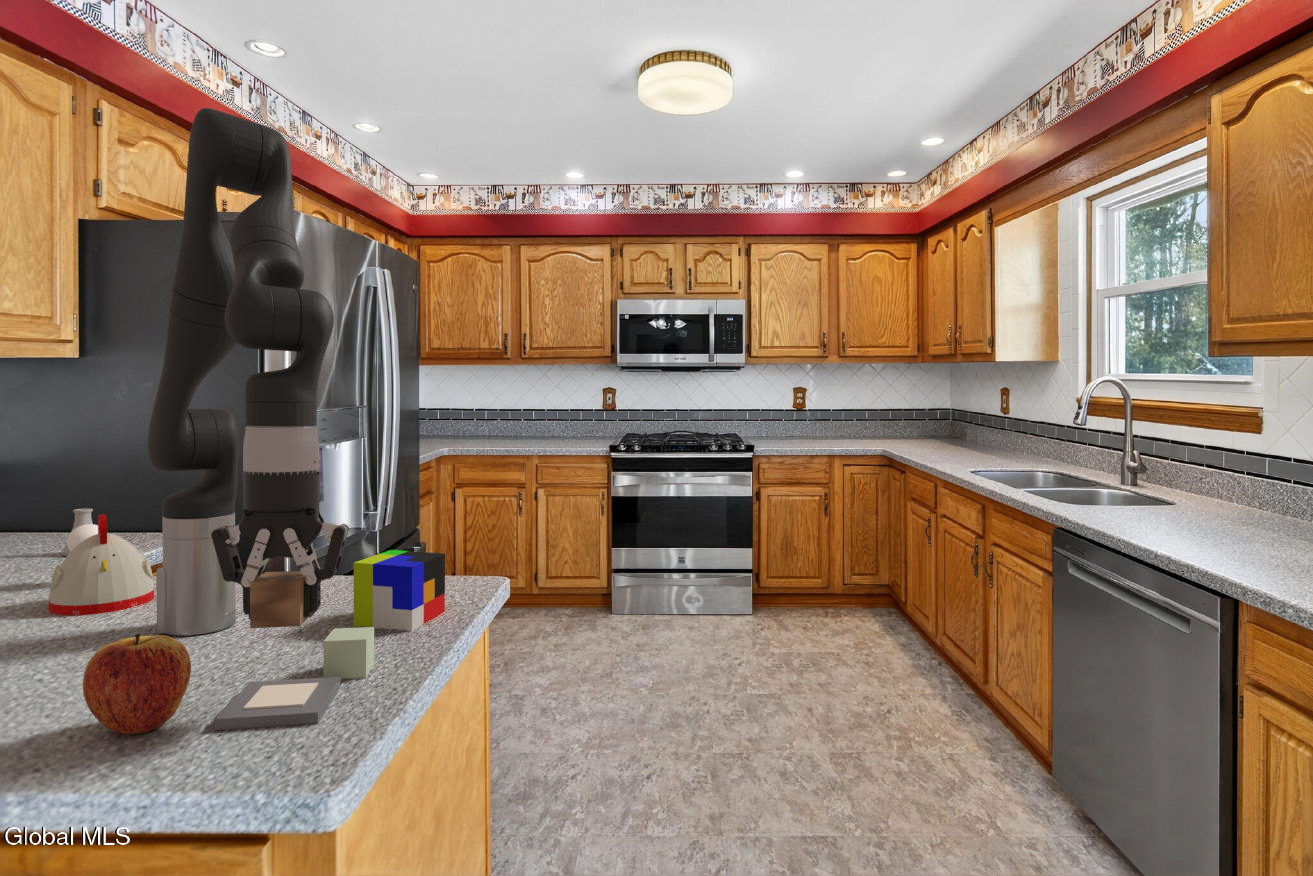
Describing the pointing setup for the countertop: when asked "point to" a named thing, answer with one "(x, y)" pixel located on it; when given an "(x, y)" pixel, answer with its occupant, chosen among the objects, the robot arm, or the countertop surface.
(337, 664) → the sage block
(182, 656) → the apple
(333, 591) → the countertop surface
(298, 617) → the walnut block
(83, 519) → the flask
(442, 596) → the puzzle toy
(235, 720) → the build board
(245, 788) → the countertop surface
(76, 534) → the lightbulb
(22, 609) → the countertop surface
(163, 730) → the countertop surface
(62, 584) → the kitchen timer
